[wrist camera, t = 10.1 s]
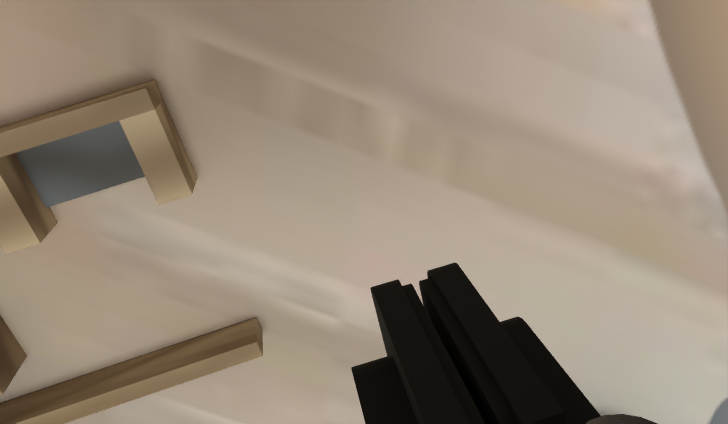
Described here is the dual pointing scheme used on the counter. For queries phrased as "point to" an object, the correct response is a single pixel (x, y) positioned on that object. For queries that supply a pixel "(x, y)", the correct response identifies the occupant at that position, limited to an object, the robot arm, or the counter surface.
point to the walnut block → (9, 356)
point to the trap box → (85, 176)
